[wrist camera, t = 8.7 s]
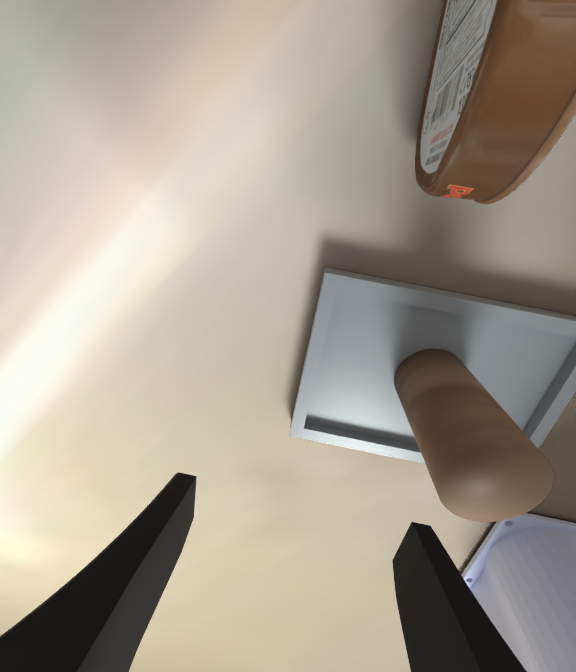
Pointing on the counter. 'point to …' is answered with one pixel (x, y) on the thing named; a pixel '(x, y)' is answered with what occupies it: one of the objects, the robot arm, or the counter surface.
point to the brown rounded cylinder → (469, 440)
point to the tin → (495, 95)
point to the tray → (415, 335)
